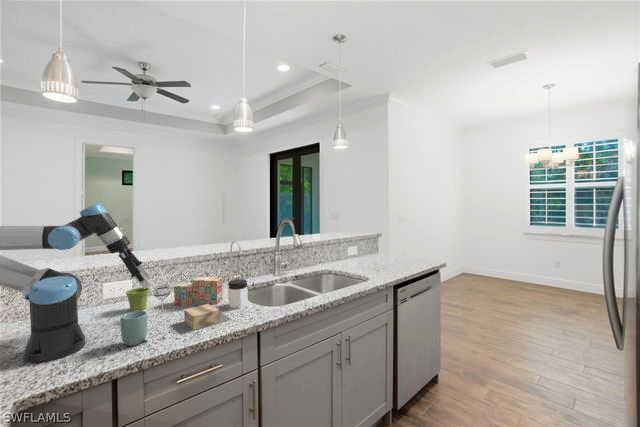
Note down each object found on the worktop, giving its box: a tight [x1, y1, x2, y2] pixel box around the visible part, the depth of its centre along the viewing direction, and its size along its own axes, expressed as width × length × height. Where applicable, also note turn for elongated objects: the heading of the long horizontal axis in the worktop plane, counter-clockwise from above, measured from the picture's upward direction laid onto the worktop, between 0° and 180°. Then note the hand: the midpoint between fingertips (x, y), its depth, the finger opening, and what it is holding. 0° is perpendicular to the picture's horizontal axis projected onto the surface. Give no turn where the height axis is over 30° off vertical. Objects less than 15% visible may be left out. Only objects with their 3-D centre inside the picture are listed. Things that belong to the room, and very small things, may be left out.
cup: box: [119, 310, 148, 347], centre depth 104 cm, size 8×8×10 cm
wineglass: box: [152, 284, 172, 317], centre depth 130 cm, size 7×7×12 cm
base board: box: [170, 311, 233, 335], centre depth 119 cm, size 20×12×1 cm, turn 133°
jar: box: [227, 278, 249, 309], centre depth 138 cm, size 9×8×12 cm
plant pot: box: [125, 287, 151, 312], centre depth 137 cm, size 9×9×9 cm
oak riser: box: [183, 304, 220, 330], centre depth 119 cm, size 10×10×5 cm
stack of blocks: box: [173, 276, 223, 307], centre depth 144 cm, size 21×6×12 cm, turn 85°
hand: (147, 282), depth 125 cm, fingers open, 13 cm apart
